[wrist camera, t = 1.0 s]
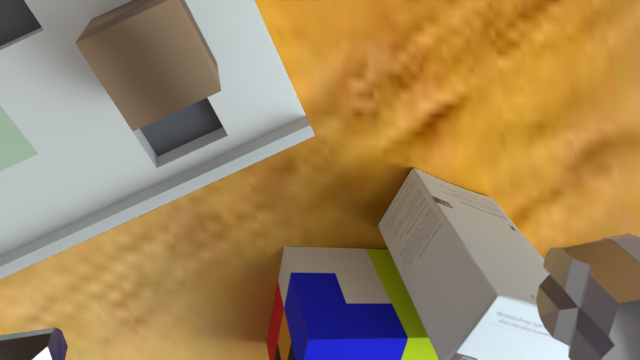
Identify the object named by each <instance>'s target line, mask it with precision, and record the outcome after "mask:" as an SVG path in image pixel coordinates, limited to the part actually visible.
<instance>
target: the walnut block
mask: <svg viewBox="0 0 640 360" xmlns="http://www.w3.org/2000/svg"><path fill="white" fill-rule="evenodd" d="M75 44H76V46H77V47H78V49H79V50H80V52H81V53H82V55H83V56H84V58H85V59H86V61H87V63H88V64H89V66H90V67H91V69H92V70H93V72H94V73H95V75H96V76H97V78H98V79H99V81H100V82H101V84H102V85H103V87H104V89H105V90H106V92H107V93H108V95H109V96H110V98H111V99H112V101H113V102H114V104H115V105H116V107H117V108H118V110H119V111H120V113H121V115H122V116H123V118H124V119H125V121H126V122H127V124H128V125H129V127H130V128H131V130H132V131H135V130H137V129H140V128H142V127H144V126H146V125H148V124H150V123H153V122H155V121H157V120H159V119H161V118H164V117H166V116H168V115H170V114H172V113H174V112H177V111H179V110H181V109H183V108H185V107H188V106H190V105H192V104H194V103H196V102H198V101H201V100H203V99H205V98H207V97H209V96H212V95H214V94H216V93H218V92H220V91H221V86H220V79H219V72H218V66H217V62H216V60H215V58H214V56H213V54H212V52H211V50H210V48H209V46H208V44H207V42H206V40H205V38H204V36H203V34H202V32H201V31H200V29H199V27H198V25H197V23H196V21H195V19H194V17H193V15H192V13H191V11H190V9H189V7H188V5H187V3H186V1H185V0H132V1H130V2H128V3H126V4H123V5H121V6H119V7H117V8H115V9H113V10H110V11H108V12H106V13H104V14H102V15H100V16H97V17H95V18H93V19H91V21H90V22H89V24H88V25H87V26H86V28H85V29H84V31H83V32H82V34H81V35H80V37H79V38H78V40H77V41H76V43H75Z"/></svg>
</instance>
